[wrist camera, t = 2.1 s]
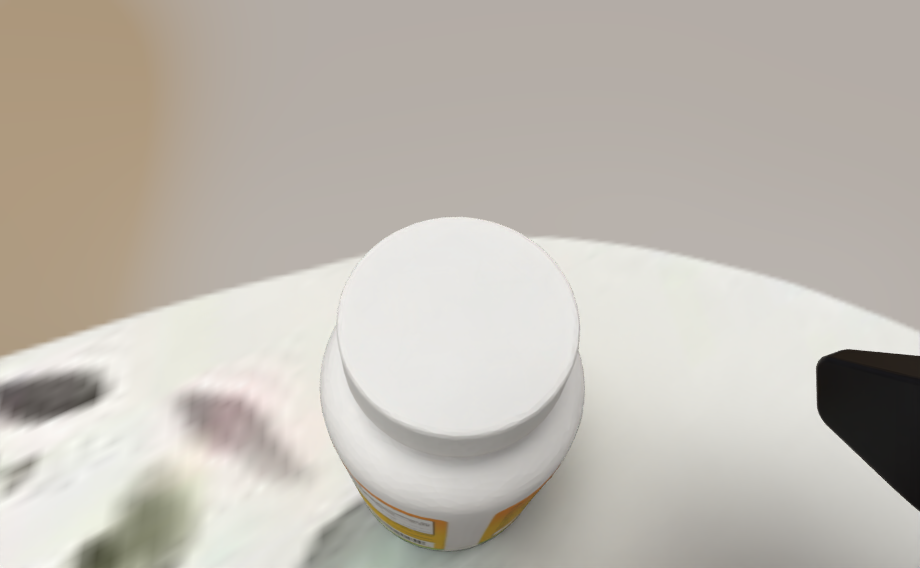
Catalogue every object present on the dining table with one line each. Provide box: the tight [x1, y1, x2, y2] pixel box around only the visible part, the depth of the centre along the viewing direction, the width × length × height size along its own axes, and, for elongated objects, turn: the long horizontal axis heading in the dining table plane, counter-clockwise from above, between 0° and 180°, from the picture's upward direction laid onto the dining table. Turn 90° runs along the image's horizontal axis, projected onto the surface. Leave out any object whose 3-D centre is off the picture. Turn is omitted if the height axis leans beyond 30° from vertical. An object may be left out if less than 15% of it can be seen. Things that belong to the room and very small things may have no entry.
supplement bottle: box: [320, 217, 585, 551], centre depth 14 cm, size 5×5×10 cm
